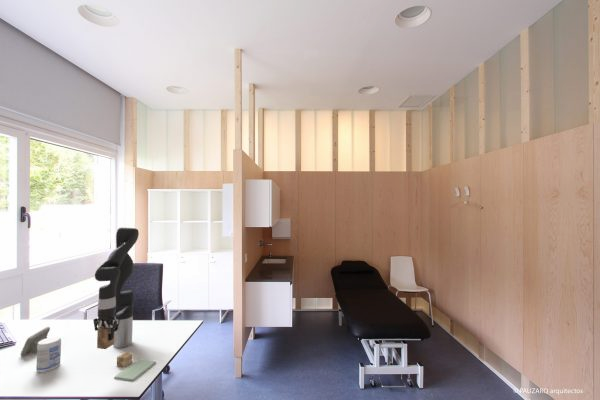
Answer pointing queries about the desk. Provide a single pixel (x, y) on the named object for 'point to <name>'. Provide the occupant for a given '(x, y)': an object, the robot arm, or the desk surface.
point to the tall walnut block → (103, 338)
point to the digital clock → (34, 341)
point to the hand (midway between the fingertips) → (106, 339)
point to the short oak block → (124, 359)
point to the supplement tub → (48, 354)
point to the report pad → (135, 370)
